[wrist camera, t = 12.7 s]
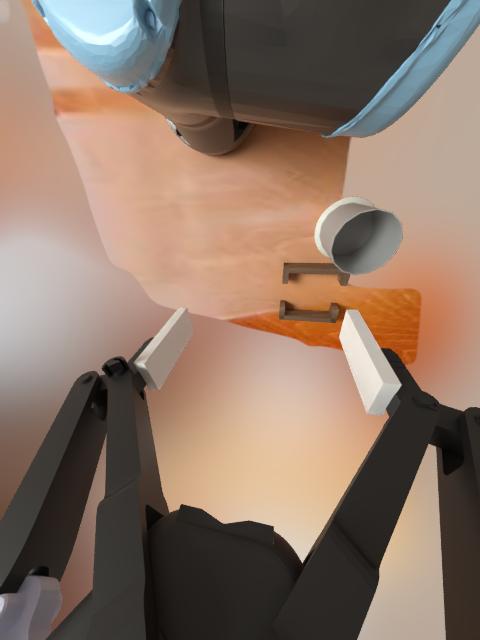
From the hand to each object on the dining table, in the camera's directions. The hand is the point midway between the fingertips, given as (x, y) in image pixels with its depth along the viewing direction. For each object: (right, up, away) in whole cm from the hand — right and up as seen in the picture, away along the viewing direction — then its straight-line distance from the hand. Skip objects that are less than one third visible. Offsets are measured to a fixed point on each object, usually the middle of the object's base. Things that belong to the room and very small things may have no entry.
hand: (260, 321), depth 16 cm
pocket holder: (+13, +6, +25) cm, 29 cm away
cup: (+17, +16, +17) cm, 29 cm away
